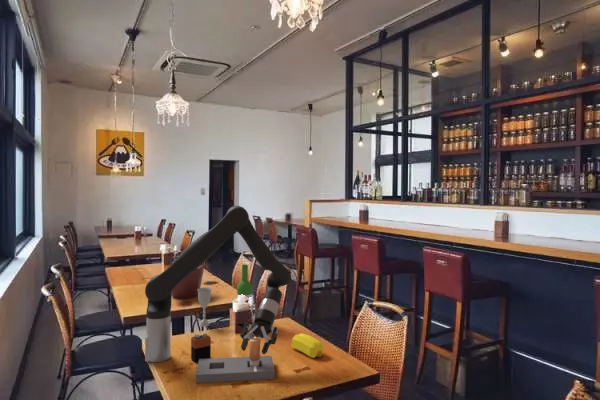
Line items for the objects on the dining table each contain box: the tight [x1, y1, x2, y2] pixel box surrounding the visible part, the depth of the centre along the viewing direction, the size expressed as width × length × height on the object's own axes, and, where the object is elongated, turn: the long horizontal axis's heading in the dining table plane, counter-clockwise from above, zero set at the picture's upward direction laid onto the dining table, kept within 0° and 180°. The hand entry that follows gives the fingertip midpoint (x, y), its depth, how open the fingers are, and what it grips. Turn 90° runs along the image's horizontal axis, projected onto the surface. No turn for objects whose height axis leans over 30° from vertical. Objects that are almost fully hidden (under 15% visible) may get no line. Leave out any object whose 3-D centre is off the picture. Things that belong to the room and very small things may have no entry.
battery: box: [190, 333, 212, 363], centre depth 171 cm, size 4×7×10 cm, turn 126°
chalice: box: [197, 287, 213, 328], centre depth 213 cm, size 7×7×18 cm
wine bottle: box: [236, 264, 253, 298], centre depth 216 cm, size 8×8×30 cm
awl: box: [248, 337, 261, 367], centre depth 160 cm, size 4×4×12 cm
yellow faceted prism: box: [290, 332, 324, 359], centre depth 180 cm, size 18×7×8 cm
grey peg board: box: [195, 355, 276, 384], centre depth 159 cm, size 28×14×3 cm, turn 98°
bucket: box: [166, 264, 205, 300], centre depth 269 cm, size 24×22×25 cm
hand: (253, 351), depth 159 cm, fingers open, 8 cm apart
